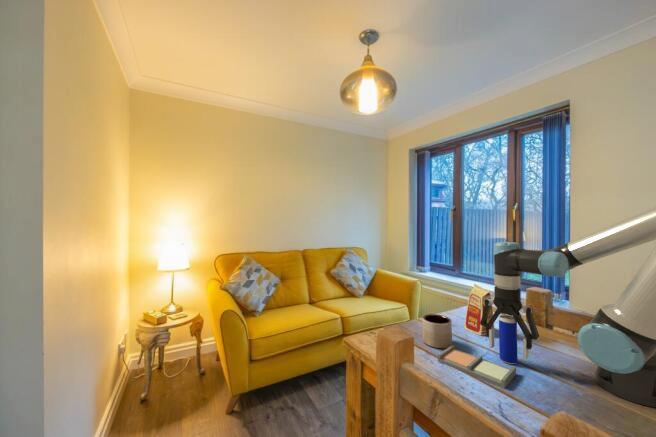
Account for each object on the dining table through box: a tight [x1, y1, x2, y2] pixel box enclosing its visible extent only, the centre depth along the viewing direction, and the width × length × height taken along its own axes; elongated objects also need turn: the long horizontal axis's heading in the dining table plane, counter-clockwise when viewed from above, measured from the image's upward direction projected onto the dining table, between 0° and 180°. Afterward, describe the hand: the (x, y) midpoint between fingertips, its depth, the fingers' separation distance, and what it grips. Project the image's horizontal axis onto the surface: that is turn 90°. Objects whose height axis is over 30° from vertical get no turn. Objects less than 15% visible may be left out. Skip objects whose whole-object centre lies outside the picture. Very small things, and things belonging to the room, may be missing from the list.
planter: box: [422, 313, 453, 350], centre depth 106 cm, size 11×11×10 cm
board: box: [437, 344, 517, 389], centre depth 88 cm, size 20×11×2 cm, turn 40°
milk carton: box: [463, 283, 495, 336], centre depth 117 cm, size 9×9×20 cm
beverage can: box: [498, 314, 518, 366], centre depth 92 cm, size 5×5×15 cm
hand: (508, 352), depth 92 cm, fingers open, 9 cm apart
